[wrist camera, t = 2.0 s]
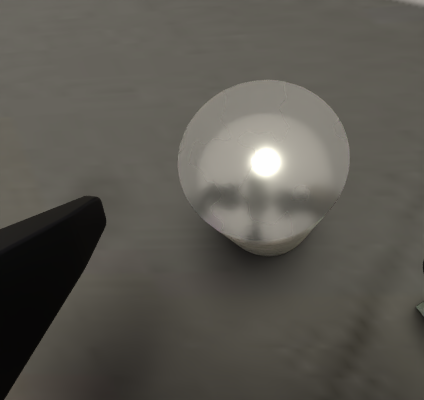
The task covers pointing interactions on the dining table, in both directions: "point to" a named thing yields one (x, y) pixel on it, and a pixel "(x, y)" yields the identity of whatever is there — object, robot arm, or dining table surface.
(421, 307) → the tray
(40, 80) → the dining table surface
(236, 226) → the can
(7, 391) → the robot arm
